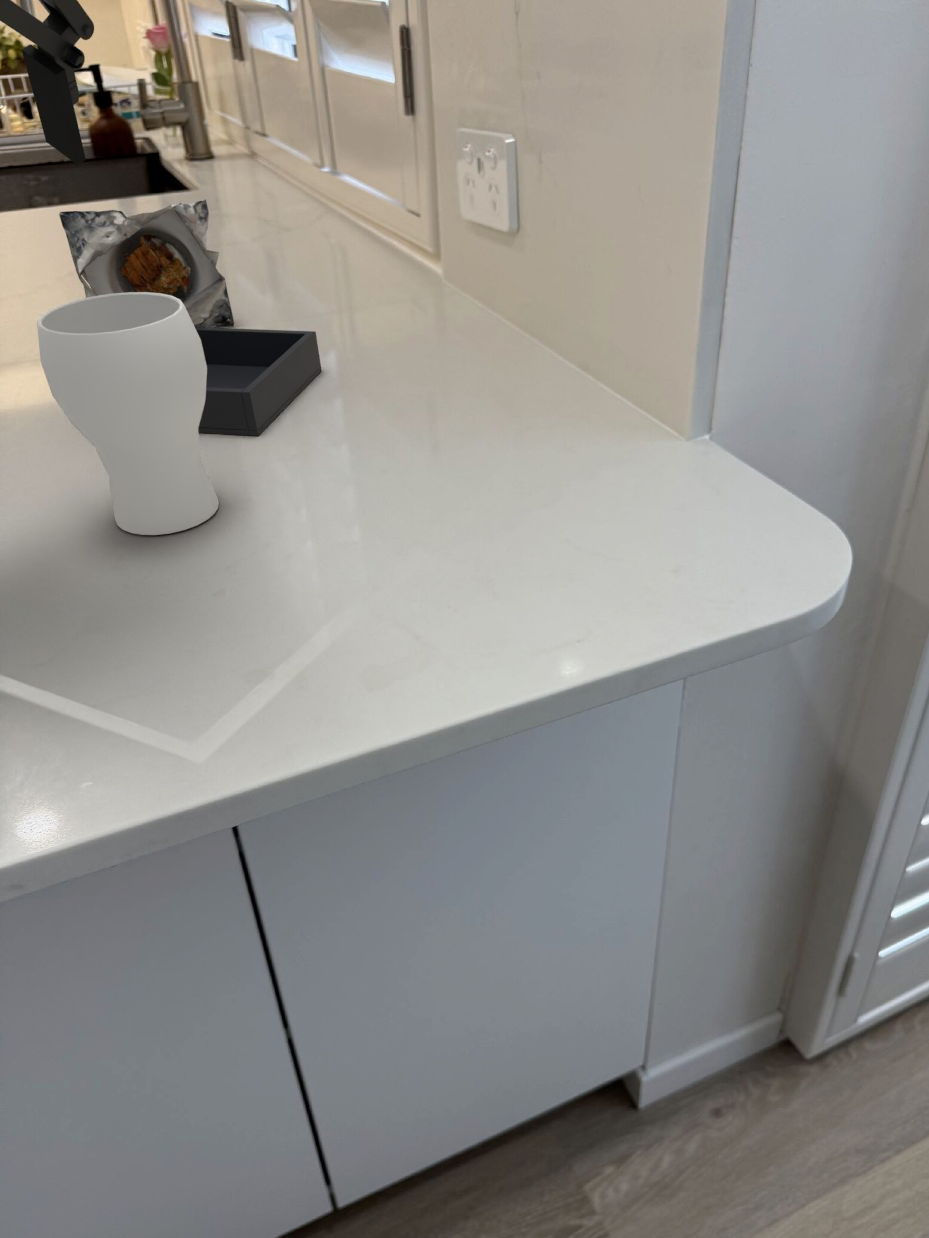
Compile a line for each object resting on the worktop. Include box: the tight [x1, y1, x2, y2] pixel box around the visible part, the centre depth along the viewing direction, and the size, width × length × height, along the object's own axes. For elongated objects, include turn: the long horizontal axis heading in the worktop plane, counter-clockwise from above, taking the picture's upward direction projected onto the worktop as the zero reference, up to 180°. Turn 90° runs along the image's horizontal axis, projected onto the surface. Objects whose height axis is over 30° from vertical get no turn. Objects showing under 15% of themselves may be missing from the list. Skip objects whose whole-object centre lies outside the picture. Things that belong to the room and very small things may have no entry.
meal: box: [58, 198, 235, 328], centre depth 104 cm, size 15×4×13 cm, turn 115°
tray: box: [195, 327, 322, 437], centre depth 90 cm, size 17×17×4 cm
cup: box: [36, 292, 220, 536], centre depth 68 cm, size 11×11×15 cm
